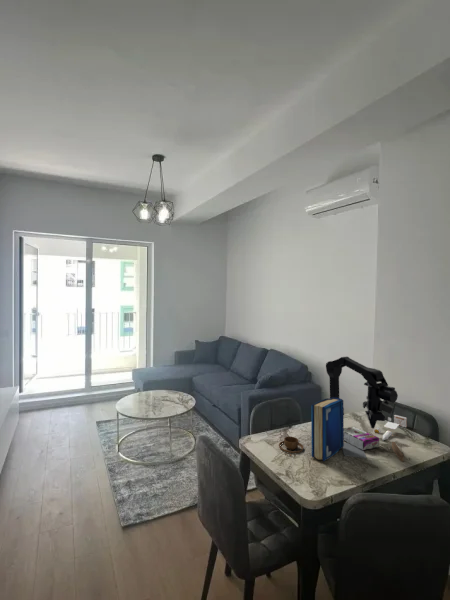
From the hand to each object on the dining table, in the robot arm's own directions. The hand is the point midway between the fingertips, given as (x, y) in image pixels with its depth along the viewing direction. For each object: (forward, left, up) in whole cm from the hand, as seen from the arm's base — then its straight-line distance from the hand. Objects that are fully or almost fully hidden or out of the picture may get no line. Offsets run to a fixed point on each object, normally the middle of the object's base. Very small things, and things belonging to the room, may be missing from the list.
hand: (372, 428), depth 160 cm
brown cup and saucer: (-35, -7, -13) cm, 38 cm away
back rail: (+12, +1, -12) cm, 17 cm away
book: (-20, -6, -12) cm, 24 cm away
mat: (-9, 0, -12) cm, 15 cm away
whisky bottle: (+15, +29, -13) cm, 35 cm away
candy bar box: (0, +2, -9) cm, 9 cm away
